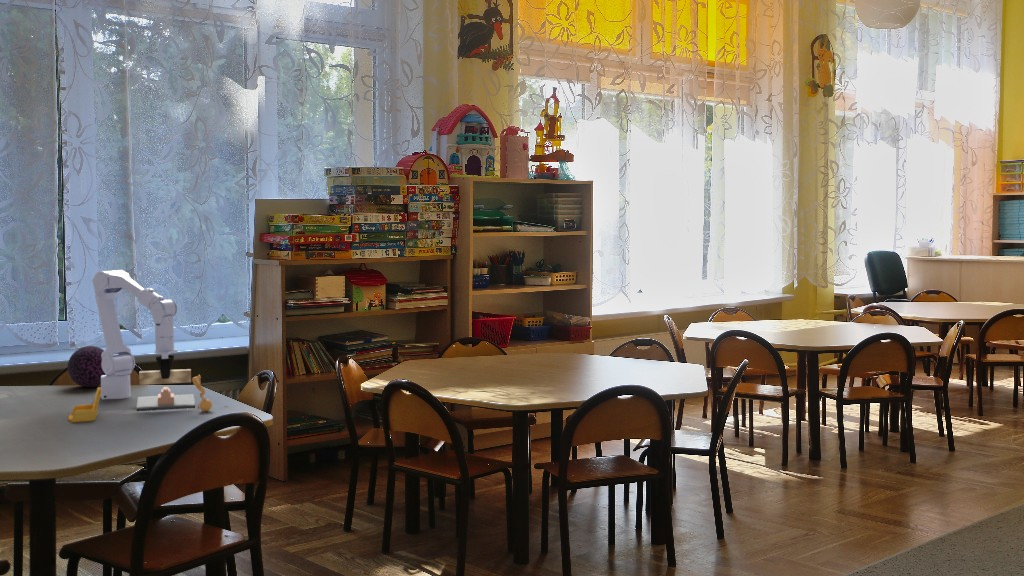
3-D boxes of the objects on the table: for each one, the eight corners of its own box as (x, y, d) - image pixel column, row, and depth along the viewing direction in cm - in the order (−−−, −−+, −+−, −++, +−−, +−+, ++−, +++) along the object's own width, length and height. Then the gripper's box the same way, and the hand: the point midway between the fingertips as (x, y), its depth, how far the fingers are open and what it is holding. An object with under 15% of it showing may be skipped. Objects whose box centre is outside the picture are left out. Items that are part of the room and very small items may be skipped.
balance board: (136, 411, 327) (136, 394, 326) (138, 400, 346) (137, 384, 345) (195, 408, 333) (194, 391, 332) (193, 397, 351) (193, 381, 351)
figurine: (215, 413, 324) (214, 375, 324) (195, 414, 321) (195, 377, 321) (208, 408, 332) (208, 372, 331) (189, 410, 329) (189, 373, 328)
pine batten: (139, 384, 332) (139, 372, 331) (139, 383, 335) (139, 371, 334) (191, 382, 337) (190, 370, 337) (190, 380, 340) (190, 369, 339)
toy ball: (102, 390, 364) (101, 349, 363) (60, 390, 364) (59, 348, 363) (119, 383, 379) (118, 343, 378) (79, 383, 379) (78, 343, 378)
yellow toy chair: (68, 416, 319) (67, 387, 319) (101, 414, 323) (100, 385, 322) (68, 423, 310) (67, 393, 309) (102, 420, 313) (101, 391, 313)
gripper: (177, 338, 329) (178, 380, 330) (177, 333, 343) (178, 373, 344) (154, 339, 327) (155, 381, 328) (154, 334, 340) (155, 374, 341)
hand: (165, 377), depth 336 cm, fingers closed on pine batten, 3 cm apart
